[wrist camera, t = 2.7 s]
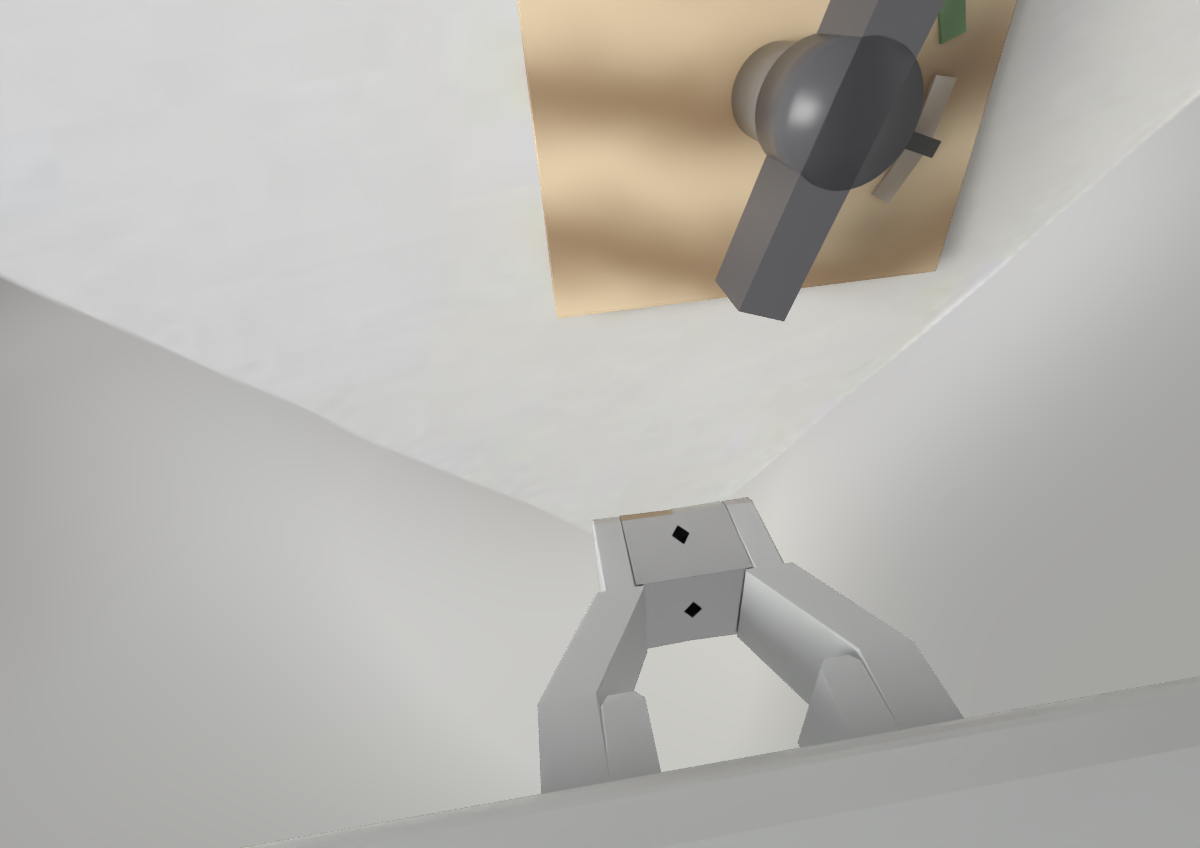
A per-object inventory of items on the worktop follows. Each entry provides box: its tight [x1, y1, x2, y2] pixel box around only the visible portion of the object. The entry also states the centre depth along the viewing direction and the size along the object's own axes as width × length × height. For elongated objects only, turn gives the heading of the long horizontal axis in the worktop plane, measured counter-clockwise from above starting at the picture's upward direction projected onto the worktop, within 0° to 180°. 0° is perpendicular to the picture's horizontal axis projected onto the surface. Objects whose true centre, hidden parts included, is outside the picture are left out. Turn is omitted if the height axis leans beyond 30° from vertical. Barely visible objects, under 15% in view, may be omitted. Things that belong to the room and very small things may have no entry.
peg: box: [715, 0, 945, 321], centre depth 21 cm, size 14×10×7 cm
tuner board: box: [517, 0, 1017, 318], centre depth 24 cm, size 18×20×2 cm
